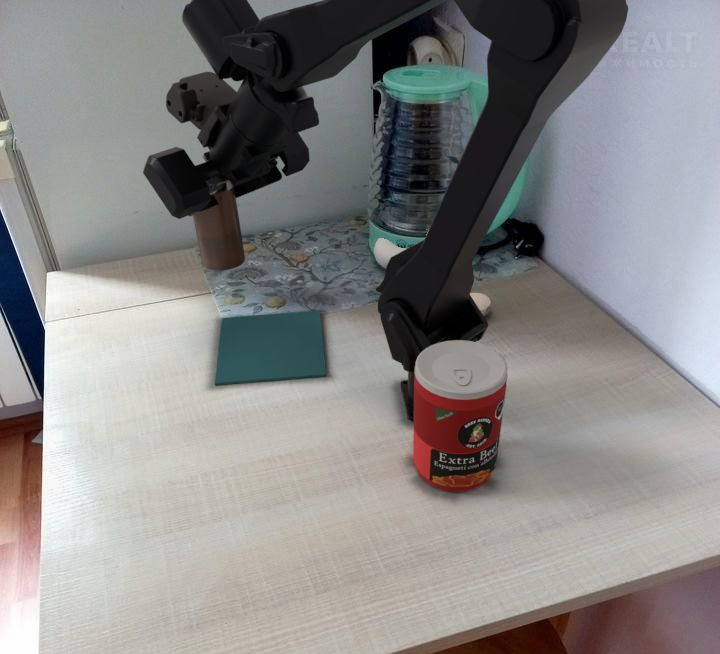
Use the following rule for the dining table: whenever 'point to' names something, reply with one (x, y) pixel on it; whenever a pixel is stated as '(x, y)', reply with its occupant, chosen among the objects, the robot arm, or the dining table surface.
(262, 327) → the napkin
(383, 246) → the donut
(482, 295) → the cream clam shell
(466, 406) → the canned food
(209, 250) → the pepper mill
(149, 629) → the dining table surface
